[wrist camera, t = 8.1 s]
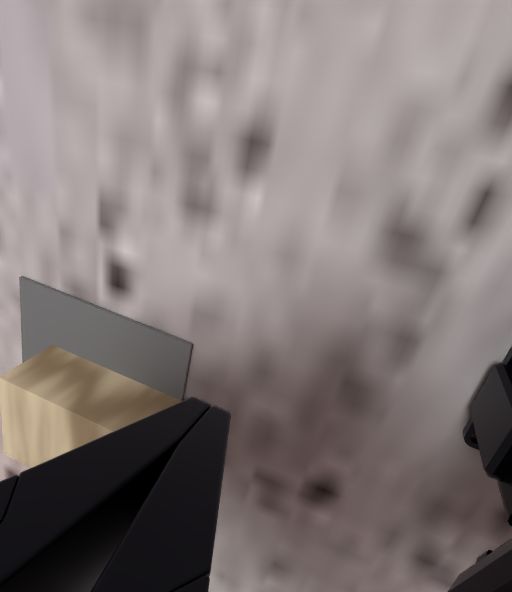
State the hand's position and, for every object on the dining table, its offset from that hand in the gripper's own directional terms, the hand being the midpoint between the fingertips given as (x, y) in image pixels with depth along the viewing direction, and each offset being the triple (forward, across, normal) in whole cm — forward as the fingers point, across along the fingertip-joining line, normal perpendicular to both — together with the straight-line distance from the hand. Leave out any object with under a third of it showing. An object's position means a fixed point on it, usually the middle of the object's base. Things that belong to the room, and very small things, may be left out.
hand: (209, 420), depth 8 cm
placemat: (+12, +11, +14) cm, 22 cm away
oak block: (+10, +5, +14) cm, 18 cm away
